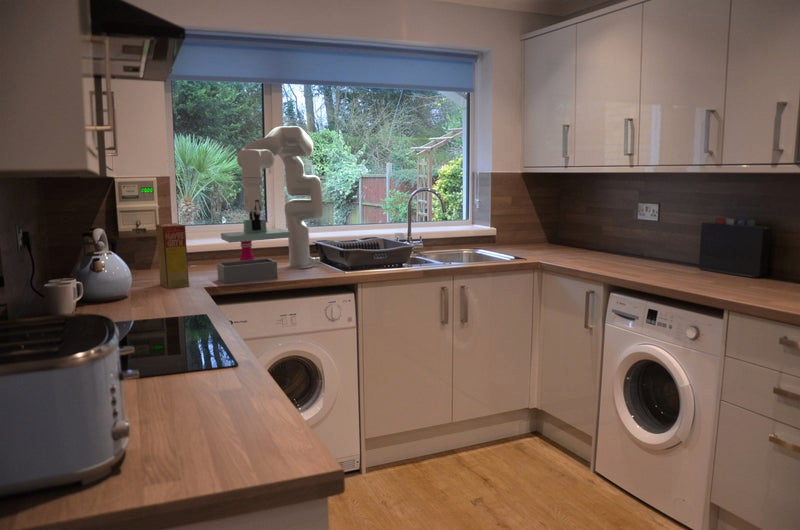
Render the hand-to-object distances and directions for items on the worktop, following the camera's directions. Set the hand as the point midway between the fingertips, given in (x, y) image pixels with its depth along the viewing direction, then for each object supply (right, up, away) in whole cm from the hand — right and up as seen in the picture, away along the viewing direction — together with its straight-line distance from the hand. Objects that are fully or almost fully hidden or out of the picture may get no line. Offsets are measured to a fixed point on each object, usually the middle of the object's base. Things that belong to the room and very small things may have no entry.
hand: (255, 229), depth 249 cm
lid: (0, -3, +1) cm, 3 cm away
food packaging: (-36, -22, +14) cm, 45 cm away
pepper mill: (-12, -18, +38) cm, 43 cm away
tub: (-7, -21, +19) cm, 29 cm away
